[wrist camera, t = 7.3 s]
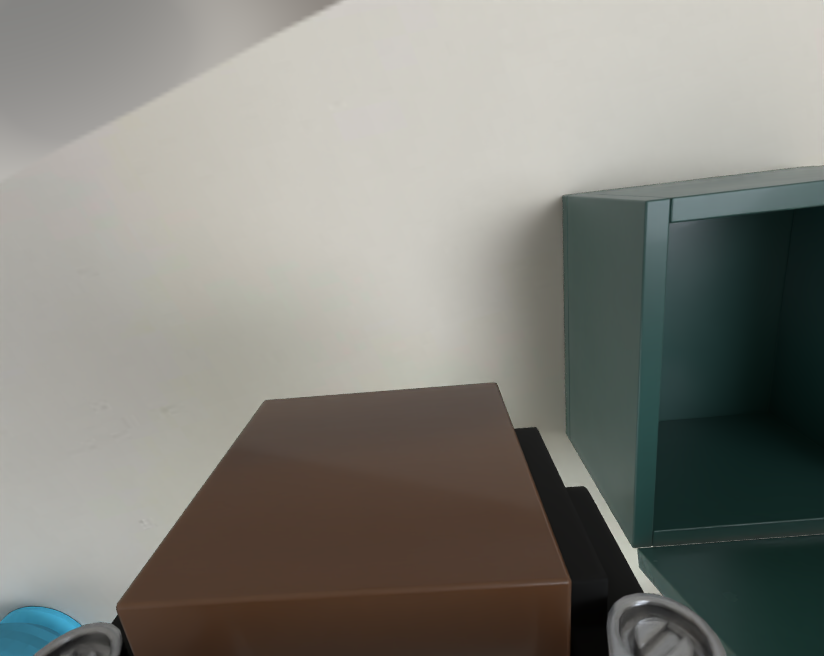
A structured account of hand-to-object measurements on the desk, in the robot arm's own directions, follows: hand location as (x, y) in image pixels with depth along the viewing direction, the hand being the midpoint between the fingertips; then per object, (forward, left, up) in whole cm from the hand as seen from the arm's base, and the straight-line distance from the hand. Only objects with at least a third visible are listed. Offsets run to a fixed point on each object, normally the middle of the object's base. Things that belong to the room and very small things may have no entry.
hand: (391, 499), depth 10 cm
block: (0, 0, 0) cm, 0 cm away
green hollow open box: (+2, +14, -15) cm, 21 cm away
